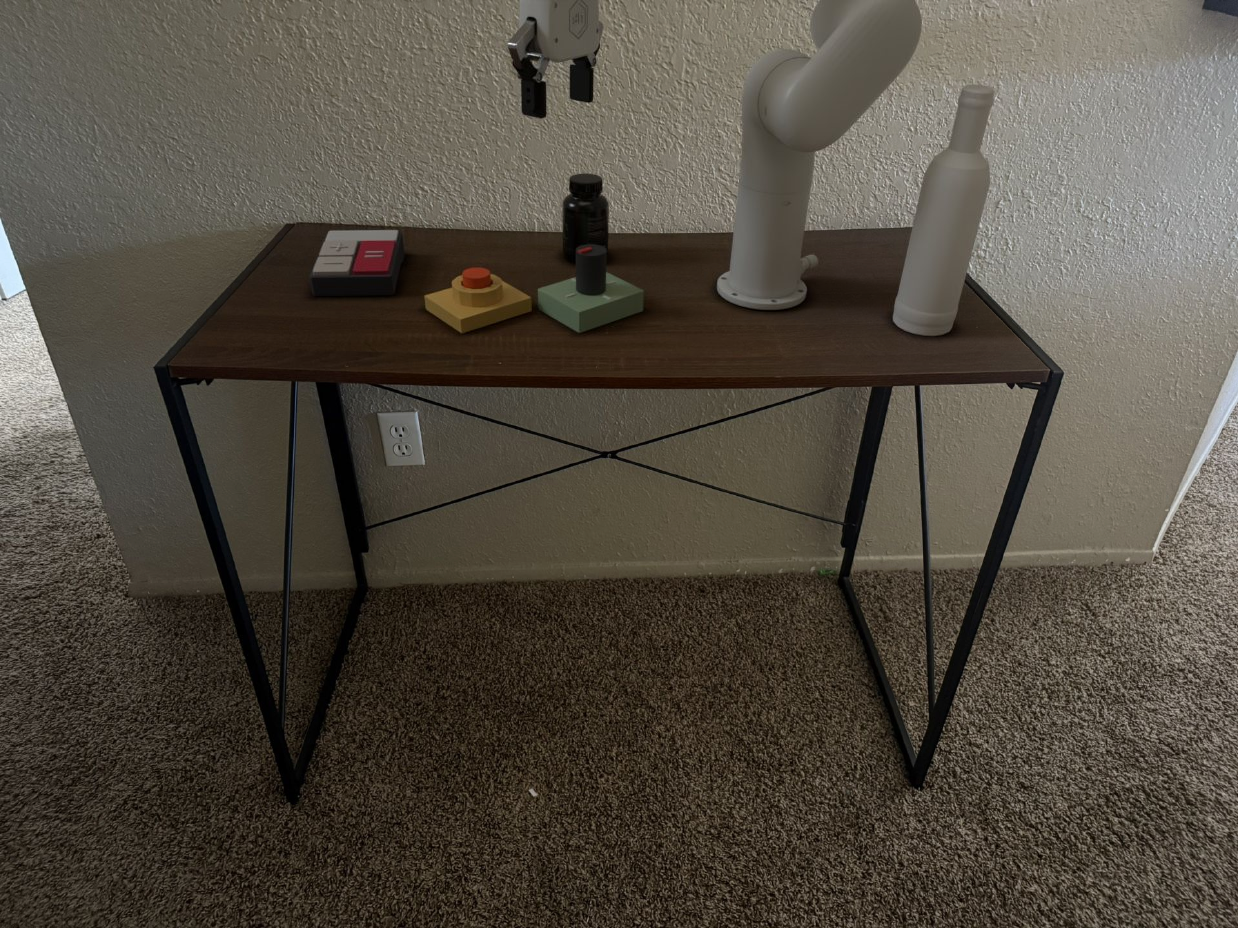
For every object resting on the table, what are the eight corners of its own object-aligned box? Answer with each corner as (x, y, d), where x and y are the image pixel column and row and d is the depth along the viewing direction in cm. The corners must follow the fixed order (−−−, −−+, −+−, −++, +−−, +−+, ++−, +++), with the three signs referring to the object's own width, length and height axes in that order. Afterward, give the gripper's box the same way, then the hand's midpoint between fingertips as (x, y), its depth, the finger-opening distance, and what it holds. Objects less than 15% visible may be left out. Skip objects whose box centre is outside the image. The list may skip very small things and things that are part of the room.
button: (481, 277, 121) (480, 265, 120) (496, 286, 119) (495, 274, 118) (458, 284, 119) (457, 271, 118) (472, 293, 117) (472, 280, 116)
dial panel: (601, 289, 128) (601, 268, 126) (643, 311, 122) (644, 289, 120) (538, 309, 122) (537, 287, 120) (579, 333, 116) (579, 311, 114)
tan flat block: (494, 289, 127) (492, 262, 124) (531, 311, 121) (531, 283, 119) (425, 309, 121) (422, 281, 119) (461, 333, 115) (459, 304, 113)
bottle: (955, 340, 117) (1020, 98, 100) (893, 333, 119) (946, 92, 101) (949, 314, 124) (1009, 82, 107) (890, 308, 125) (940, 77, 108)
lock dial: (593, 280, 123) (593, 239, 119) (612, 290, 120) (612, 249, 117) (569, 288, 120) (569, 246, 117) (588, 298, 118) (588, 256, 115)
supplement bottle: (609, 250, 140) (611, 172, 133) (605, 267, 134) (607, 187, 127) (566, 247, 140) (565, 169, 133) (559, 264, 135) (559, 184, 128)
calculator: (307, 272, 121) (325, 226, 132) (313, 301, 123) (330, 253, 135) (391, 271, 122) (401, 225, 134) (394, 299, 124) (405, 253, 136)
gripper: (538, -46, 91) (540, 128, 101) (628, -57, 103) (622, 100, 113) (480, -53, 94) (488, 117, 104) (574, -62, 107) (573, 91, 116)
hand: (558, 108), depth 109 cm, fingers open, 9 cm apart
